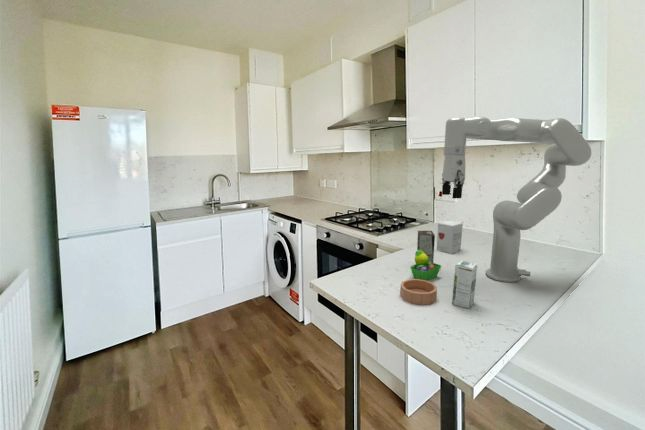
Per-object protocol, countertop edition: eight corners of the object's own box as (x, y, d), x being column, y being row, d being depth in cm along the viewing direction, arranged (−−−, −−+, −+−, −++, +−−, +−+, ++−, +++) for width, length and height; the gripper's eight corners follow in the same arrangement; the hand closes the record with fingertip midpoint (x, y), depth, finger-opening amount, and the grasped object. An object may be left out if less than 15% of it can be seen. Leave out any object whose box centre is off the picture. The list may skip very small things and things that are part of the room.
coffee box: (433, 271, 139) (435, 235, 135) (418, 270, 140) (419, 235, 137) (430, 263, 147) (432, 230, 144) (416, 263, 149) (417, 229, 145)
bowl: (437, 292, 118) (438, 282, 118) (434, 307, 107) (435, 296, 107) (403, 286, 123) (404, 277, 123) (397, 300, 112) (398, 290, 111)
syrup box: (456, 298, 113) (459, 259, 111) (474, 302, 110) (477, 263, 107) (451, 304, 109) (454, 264, 106) (469, 309, 105) (473, 268, 103)
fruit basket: (424, 284, 126) (425, 257, 123) (406, 277, 133) (407, 251, 130) (441, 277, 132) (442, 251, 130) (423, 270, 139) (424, 246, 137)
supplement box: (435, 250, 167) (437, 222, 164) (445, 246, 172) (447, 219, 169) (451, 254, 160) (453, 225, 157) (461, 250, 165) (463, 222, 162)
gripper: (475, 151, 112) (471, 199, 116) (454, 151, 129) (451, 193, 133) (454, 152, 112) (451, 200, 116) (435, 151, 129) (433, 193, 132)
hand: (451, 196), depth 124 cm, fingers open, 9 cm apart
